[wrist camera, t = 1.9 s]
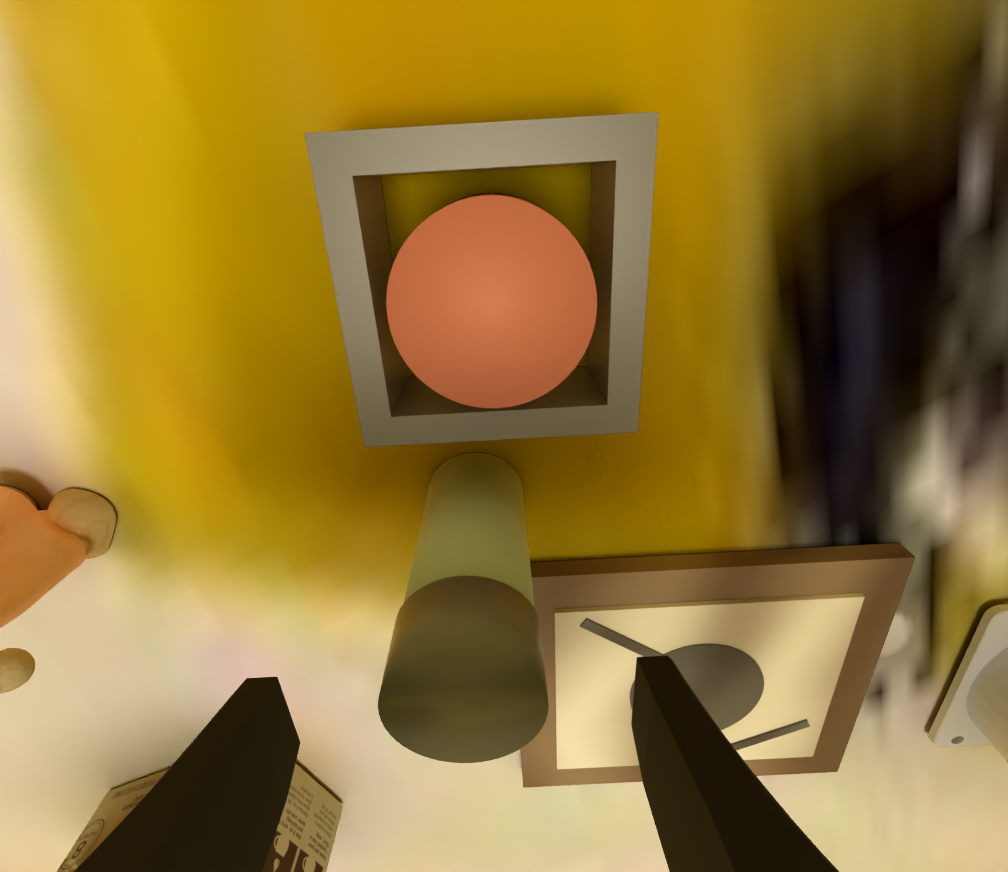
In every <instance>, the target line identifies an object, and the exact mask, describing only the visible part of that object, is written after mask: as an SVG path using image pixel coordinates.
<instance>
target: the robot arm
mask: <svg viewBox="0 0 1008 872" xmlns="http://www.w3.org/2000/svg"><path fill="white" fill-rule="evenodd" d="M631 726H632V731H633V736H634V741H635V747H636V752H637V757H638V762H639V766H640V771H641V776H642V781H643V784H644V788H645V791H646V795H647V798H648V801H649V805H650V808H651V811H652V815H653V818H654V821H655V825H656V828H657V831H658V835H659V838H660V841H661V845H662V848H663V851H664V854H665V858H666V861H667V864H668V868H669V871H670V872H839V871H838V870H837V869H836V868H835V867H834V866H833V865H832V863H831V862H830V861H829V860H828V859H827V858H826V857H825V856H824V855H823V854H822V853H821V852H820V851H819V849H818V848H817V847H816V846H815V845H814V844H813V843H812V842H811V840H810V839H809V838H808V837H807V836H806V835H805V834H804V833H803V831H802V830H801V829H800V828H799V827H798V826H797V825H796V823H795V822H794V821H793V820H792V819H791V818H790V816H789V815H788V814H787V813H786V812H785V810H784V809H783V808H782V807H781V806H780V805H779V803H778V802H777V801H776V800H775V799H774V797H773V796H772V795H771V794H770V793H769V791H768V790H767V789H766V788H765V787H764V785H763V784H762V783H761V782H760V780H759V779H758V778H757V777H756V775H755V774H754V773H753V772H752V770H751V769H750V768H749V766H748V765H747V764H746V763H745V761H744V760H743V759H742V757H741V756H740V755H739V754H738V752H737V751H736V750H735V748H734V747H733V746H732V744H731V743H730V742H729V741H728V739H727V738H726V737H725V735H724V734H723V733H722V731H721V730H720V729H719V727H718V726H717V725H716V723H715V722H714V720H713V719H712V718H711V716H710V715H709V713H708V712H707V711H706V709H705V708H704V706H703V705H702V704H701V702H700V701H699V699H698V698H697V696H696V695H695V693H694V692H693V691H692V689H691V688H690V686H689V685H688V683H687V682H686V680H685V679H684V677H683V675H682V674H681V672H680V671H679V669H678V668H677V666H676V665H675V663H674V661H673V660H672V659H671V658H670V657H669V656H667V655H666V656H647V657H637V660H636V672H635V684H634V696H633V709H632V721H631ZM928 737H929V739H930V740H931V741H932V743H933V744H934V745H935V746H937V747H958V746H978V745H993V746H994V747H995V748H996V749H997V750H998V751H999V753H1000V754H1001V755H1002V756H1003V757H1004V758H1005V759H1006V761H1007V762H1008V604H1003V605H995V606H993V607H991V608H989V609H988V610H986V612H985V613H984V615H983V617H982V619H981V621H980V623H979V625H978V628H977V630H976V632H975V634H974V636H973V638H972V640H971V643H970V645H969V647H968V649H967V651H966V653H965V656H964V658H963V660H962V662H961V664H960V666H959V669H958V671H957V673H956V675H955V677H954V679H953V681H952V684H951V686H950V688H949V690H948V692H947V694H946V697H945V699H944V701H943V703H942V705H941V707H940V709H939V712H938V714H937V716H936V718H935V720H934V722H933V725H932V727H931V729H930V731H929V734H928ZM299 745H300V741H299V738H298V735H297V732H296V729H295V726H294V723H293V721H292V718H291V715H290V712H289V709H288V706H287V703H286V701H285V698H284V695H283V692H282V689H281V686H280V683H279V681H278V678H277V677H264V678H247V679H246V680H245V681H244V682H243V683H242V684H241V686H240V687H239V688H238V689H237V690H236V691H235V692H234V694H233V695H232V696H231V697H230V698H229V699H228V701H227V702H226V703H225V704H224V705H223V707H222V708H221V709H220V710H219V711H218V712H217V714H216V715H215V716H214V717H213V718H212V720H211V721H210V722H209V723H208V724H207V725H206V727H205V728H204V729H203V730H202V731H201V733H200V734H199V735H198V736H197V737H196V738H195V740H194V741H193V742H192V743H191V744H190V745H189V747H188V748H187V749H186V750H185V751H184V752H183V754H182V755H181V756H180V757H179V758H178V759H177V760H176V761H175V763H174V764H173V765H172V766H171V767H170V768H169V769H168V771H167V772H166V773H165V774H164V775H163V776H162V777H161V779H160V780H159V781H158V782H157V783H156V784H155V785H154V786H153V788H152V789H151V790H150V791H149V792H148V793H147V794H146V795H145V797H144V798H143V799H142V800H141V801H140V802H139V803H138V804H137V805H136V806H135V807H134V809H133V810H132V811H131V812H130V813H129V814H128V815H127V816H126V817H125V818H124V819H123V820H122V821H121V822H120V823H119V824H118V826H117V827H116V828H115V829H114V830H113V831H112V832H111V833H110V834H109V835H108V836H107V837H106V838H105V839H104V840H103V842H102V843H101V844H100V845H99V846H98V847H97V848H96V849H95V850H94V851H93V852H92V853H91V854H90V855H89V856H88V857H87V858H86V859H85V860H84V861H83V862H82V863H81V864H80V865H79V866H78V867H77V868H76V869H75V870H74V871H73V872H262V870H263V867H264V865H265V862H266V859H267V856H268V853H269V850H270V848H271V845H272V842H273V839H274V836H275V833H276V830H277V827H278V824H279V821H280V819H281V816H282V813H283V810H284V807H285V804H286V801H287V797H288V793H289V789H290V785H291V781H292V777H293V772H294V768H295V763H296V759H297V754H298V750H299Z"/></svg>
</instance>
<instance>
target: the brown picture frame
mask: <svg viewBox="0 0 1008 872" xmlns="http://www.w3.org/2000/svg"><path fill="white" fill-rule="evenodd" d="M914 560H915V556H913V555H912V554H911V553H910V552H909V551H908V550H907V549H906V548H904V547H903V546H902V545H901V544H900V543H889V544H870V545H851V546H832V547H814V548H795V549H776V550H757V551H738V552H720V553H701V554H682V555H663V556H644V557H626V558H607V559H588V560H569V561H550V562H532V563H530V567H531V577H532V588H533V598H534V608H535V610H536V612H537V614H538V617H539V620H540V627H541V637H542V646H543V656H544V665H545V675H546V685H547V694H548V704H549V708H548V715H547V719H546V721H545V724H544V726H543V727H542V729H541V730H540V732H539V733H538V734H537V735H536V736H535V738H534V739H533V740H531V741H530V742H529V743H528V744H527V745H525V746H524V747H522V748H521V758H522V775H523V787H541V786H561V785H581V784H601V783H622V782H642V776H641V771H640V766H639V762H638V757H637V752H636V747H635V741H634V736H633V731H632V726H631V721H632V709H633V696H634V684H635V672H636V660H637V657H647V656H666V655H667V656H669V657H670V658H671V659H672V660H673V661H674V663H675V665H676V666H677V668H678V669H679V671H680V672H681V674H682V675H683V677H684V679H685V680H686V682H687V683H688V685H689V686H690V688H691V689H692V691H693V692H694V693H695V695H696V696H697V698H698V699H699V701H700V702H701V704H702V705H703V706H704V708H705V709H706V711H707V712H708V713H709V715H710V716H711V718H712V719H713V720H714V722H715V723H716V725H717V726H718V727H719V729H720V730H721V731H722V733H723V734H724V735H725V737H726V738H727V739H728V741H729V742H730V743H731V744H732V746H733V747H734V748H735V750H736V751H737V752H738V754H739V755H740V756H741V757H742V759H743V760H744V761H745V763H746V764H747V765H748V766H749V768H750V769H751V770H752V772H753V773H754V774H755V775H756V776H762V775H782V774H802V773H822V772H837V771H838V768H839V766H840V763H841V760H842V757H843V755H844V752H845V749H846V746H847V744H848V741H849V738H850V735H851V733H852V730H853V727H854V724H855V722H856V719H857V716H858V713H859V711H860V708H861V705H862V703H863V700H864V697H865V694H866V692H867V689H868V686H869V683H870V681H871V678H872V675H873V672H874V670H875V667H876V664H877V661H878V659H879V656H880V653H881V650H882V648H883V645H884V642H885V639H886V637H887V634H888V631H889V628H890V626H891V623H892V620H893V617H894V615H895V612H896V609H897V607H898V604H899V601H900V598H901V596H902V593H903V590H904V587H905V585H906V582H907V579H908V576H909V574H910V571H911V568H912V565H913V563H914Z"/></svg>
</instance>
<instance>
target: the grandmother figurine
mask: <svg viewBox="0 0 1008 872" xmlns="http://www.w3.org/2000/svg"><path fill="white" fill-rule="evenodd" d="M115 524H116V514H115V511H114V509H113V507H112V505H111V504H110V503H109V502H108V501H107V500H106V499H104V498H103V497H101V496H99V495H98V494H95V493H92V492H89V491H86V490H81V489H66V490H63V491H61V492H59V493H58V494H56V495H55V496H54V498H53V499H52V501H51V503H50V505H49V507H48V509H47V510H38V508H37V506H36V504H35V502H34V501H33V500H32V499H31V498H30V497H29V496H28V495H27V494H25V493H24V492H22V491H20V490H19V489H16V488H13V487H10V486H5V485H0V628H1V627H2V626H4V625H6V624H7V623H9V622H10V621H12V620H13V619H15V618H16V617H18V616H19V615H21V614H22V613H23V612H25V611H26V610H27V609H28V608H30V607H31V606H32V605H33V604H34V603H35V602H37V601H38V600H39V599H40V598H41V597H42V596H43V595H45V594H46V593H47V592H48V591H49V590H50V589H52V588H53V587H54V586H55V585H56V584H57V583H59V582H60V581H61V580H62V579H63V578H65V577H66V576H67V575H68V574H69V573H70V572H72V571H73V570H74V569H76V568H77V567H78V566H80V565H81V564H82V562H83V561H84V559H89V558H94V557H97V556H100V555H102V554H104V553H105V552H106V551H107V550H108V548H109V546H110V543H111V539H112V536H113V532H114V529H115ZM34 670H35V661H34V658H33V657H32V655H31V654H30V653H28V652H27V651H25V650H22V649H19V648H7V649H5V650H2V651H0V694H1V693H5V692H9V691H12V690H14V689H16V688H18V687H20V686H21V685H23V684H24V683H26V682H27V681H28V680H29V679H30V677H31V676H32V674H33V672H34Z"/></svg>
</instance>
